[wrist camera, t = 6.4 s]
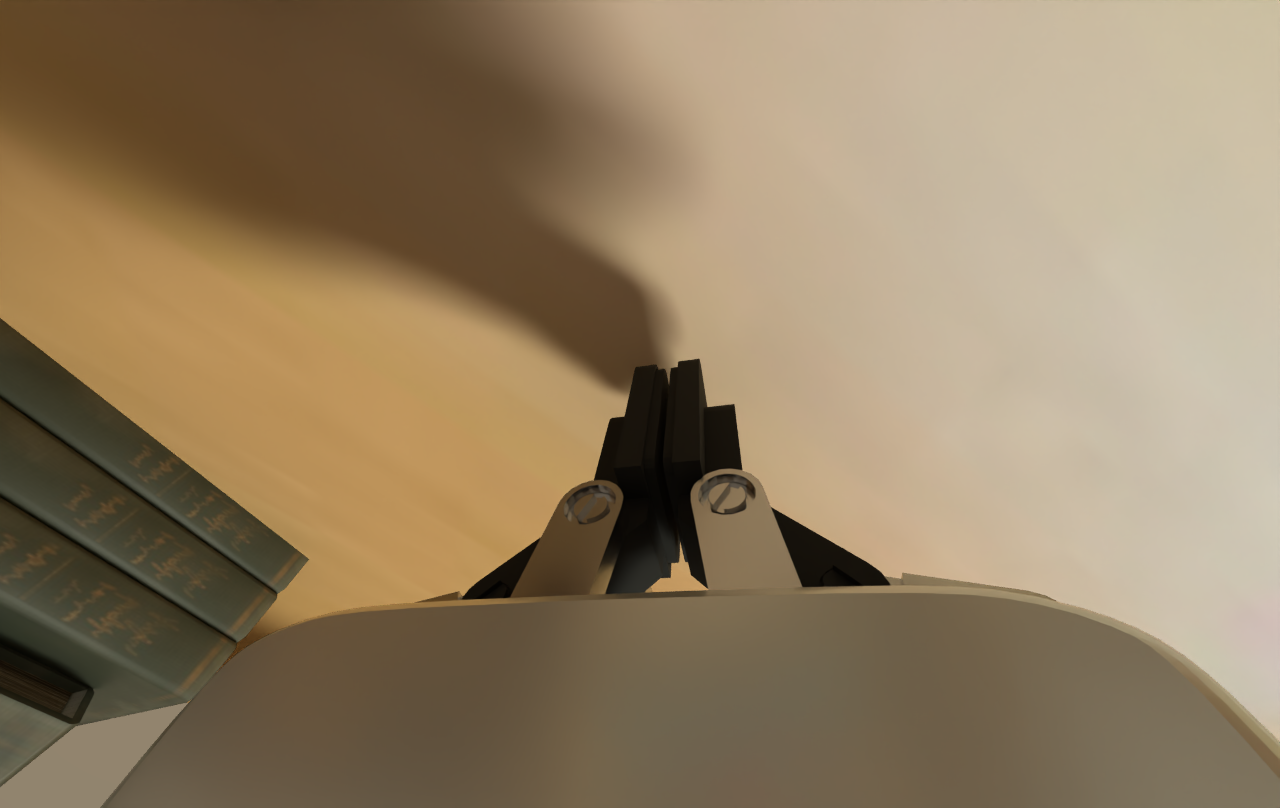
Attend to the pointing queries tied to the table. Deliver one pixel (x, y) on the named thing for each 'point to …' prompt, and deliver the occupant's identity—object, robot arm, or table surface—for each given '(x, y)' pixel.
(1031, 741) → the robot arm
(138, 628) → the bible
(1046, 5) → the table surface
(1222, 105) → the table surface
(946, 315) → the table surface
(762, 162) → the table surface
